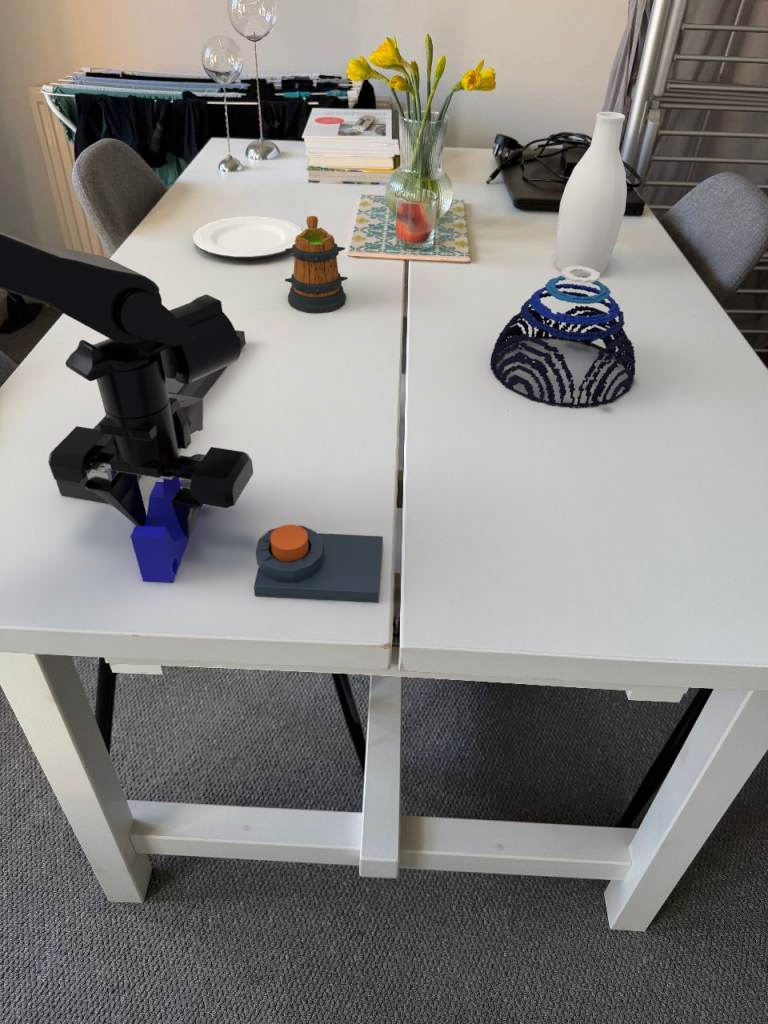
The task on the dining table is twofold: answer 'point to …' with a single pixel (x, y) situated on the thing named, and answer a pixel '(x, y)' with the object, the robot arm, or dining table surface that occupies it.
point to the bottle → (593, 201)
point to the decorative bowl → (586, 338)
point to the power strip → (174, 387)
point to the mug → (315, 271)
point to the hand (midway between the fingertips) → (166, 530)
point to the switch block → (323, 569)
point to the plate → (246, 237)
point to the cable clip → (160, 536)
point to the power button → (289, 543)
